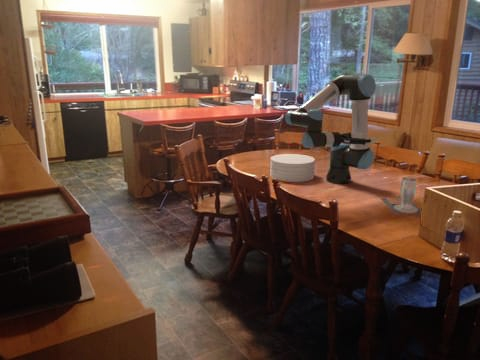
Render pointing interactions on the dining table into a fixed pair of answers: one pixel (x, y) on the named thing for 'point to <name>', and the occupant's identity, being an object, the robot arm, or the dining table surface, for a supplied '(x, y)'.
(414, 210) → the round coaster
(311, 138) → the robot arm
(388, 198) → the square tile
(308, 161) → the plate stack
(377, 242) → the dining table surface
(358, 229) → the dining table surface
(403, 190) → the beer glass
